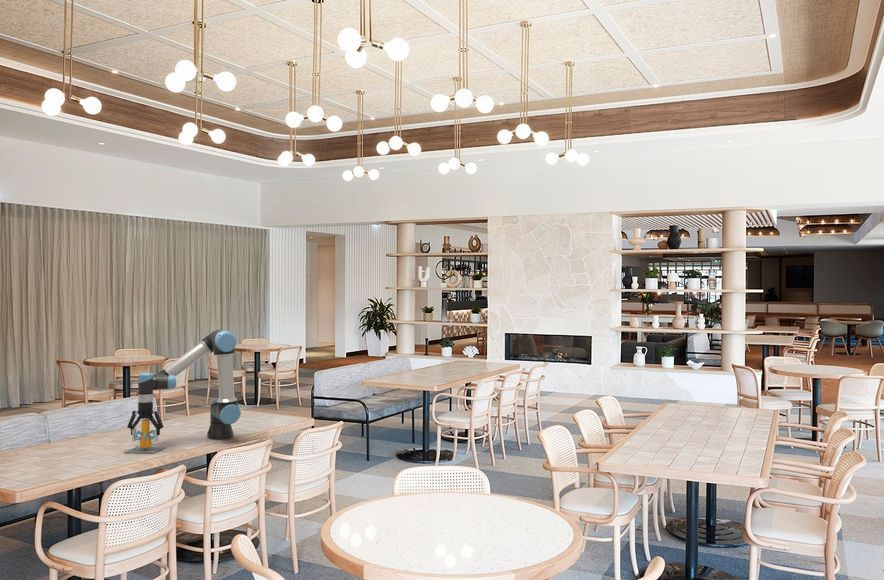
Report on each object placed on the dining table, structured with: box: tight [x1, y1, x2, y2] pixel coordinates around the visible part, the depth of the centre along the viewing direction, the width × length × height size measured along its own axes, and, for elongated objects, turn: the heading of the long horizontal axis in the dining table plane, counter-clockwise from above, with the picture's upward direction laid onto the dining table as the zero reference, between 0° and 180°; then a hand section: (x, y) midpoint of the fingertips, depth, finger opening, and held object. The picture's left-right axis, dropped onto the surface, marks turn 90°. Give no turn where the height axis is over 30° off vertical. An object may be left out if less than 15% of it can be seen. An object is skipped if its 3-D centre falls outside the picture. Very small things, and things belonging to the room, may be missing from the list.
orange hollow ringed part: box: [135, 418, 155, 448], centre depth 385 cm, size 12×10×15 cm
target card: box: [124, 445, 166, 455], centre depth 385 cm, size 16×14×1 cm
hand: (145, 441), depth 385 cm, fingers closed on orange hollow ringed part, 12 cm apart
